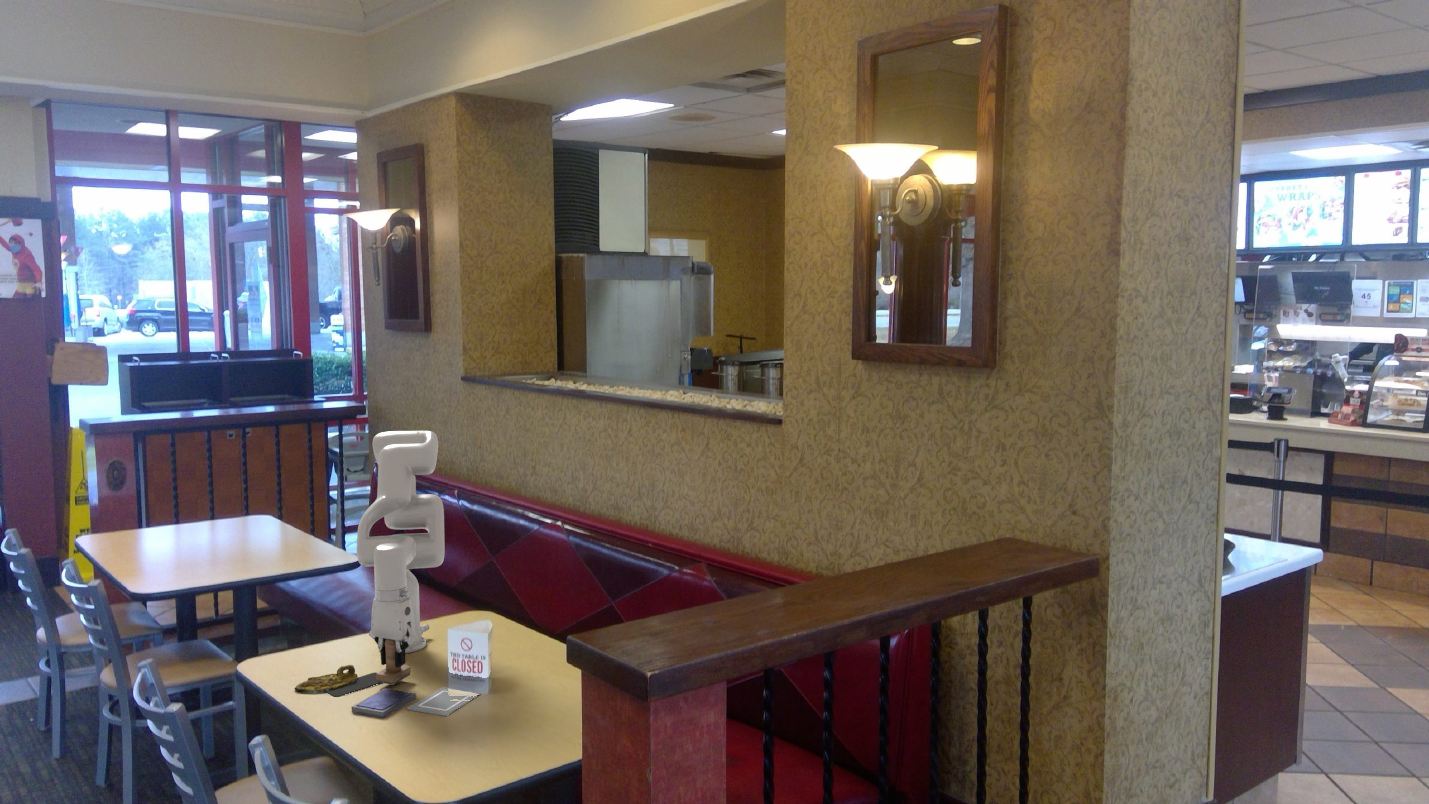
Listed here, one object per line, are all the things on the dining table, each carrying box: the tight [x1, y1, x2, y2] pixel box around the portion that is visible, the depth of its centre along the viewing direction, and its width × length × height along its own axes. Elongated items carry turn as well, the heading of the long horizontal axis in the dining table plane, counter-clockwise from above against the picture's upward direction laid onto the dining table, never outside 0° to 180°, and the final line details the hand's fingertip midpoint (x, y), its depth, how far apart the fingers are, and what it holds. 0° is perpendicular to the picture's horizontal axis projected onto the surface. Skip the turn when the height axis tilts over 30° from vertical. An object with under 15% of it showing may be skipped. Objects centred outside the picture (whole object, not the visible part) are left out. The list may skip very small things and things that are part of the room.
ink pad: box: [351, 687, 417, 719], centre depth 239 cm, size 12×9×2 cm
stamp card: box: [406, 686, 477, 717], centre depth 241 cm, size 14×11×1 cm
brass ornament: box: [294, 664, 358, 695], centre depth 251 cm, size 9×5×15 cm
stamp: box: [376, 639, 412, 686], centre depth 251 cm, size 7×5×11 cm
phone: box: [324, 672, 381, 698], centre depth 251 cm, size 7×1×15 cm
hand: (393, 663), depth 251 cm, fingers closed on stamp, 3 cm apart
